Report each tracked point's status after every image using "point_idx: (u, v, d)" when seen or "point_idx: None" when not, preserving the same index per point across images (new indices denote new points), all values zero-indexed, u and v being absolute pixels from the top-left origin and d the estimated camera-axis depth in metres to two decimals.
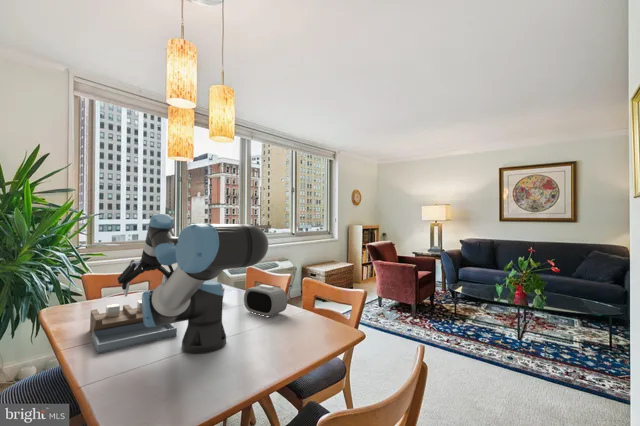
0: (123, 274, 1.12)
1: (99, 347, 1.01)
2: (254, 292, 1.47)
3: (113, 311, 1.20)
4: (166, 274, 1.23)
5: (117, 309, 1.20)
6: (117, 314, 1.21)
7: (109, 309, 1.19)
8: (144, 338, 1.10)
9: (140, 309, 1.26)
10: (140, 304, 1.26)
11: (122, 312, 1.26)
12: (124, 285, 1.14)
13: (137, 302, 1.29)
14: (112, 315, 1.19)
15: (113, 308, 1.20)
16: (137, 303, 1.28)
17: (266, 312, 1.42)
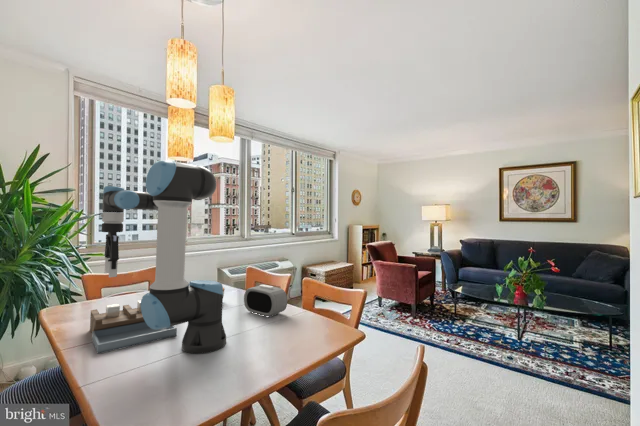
0: (115, 251, 1.22)
1: (99, 347, 1.01)
2: (254, 292, 1.47)
3: (113, 311, 1.20)
4: None
5: (117, 309, 1.20)
6: (117, 314, 1.21)
7: (109, 309, 1.19)
8: (144, 338, 1.10)
9: (140, 309, 1.26)
10: (140, 304, 1.26)
11: (122, 312, 1.26)
12: (115, 263, 1.24)
13: (137, 302, 1.29)
14: (112, 315, 1.19)
15: (113, 308, 1.20)
16: (137, 303, 1.28)
17: (266, 312, 1.42)
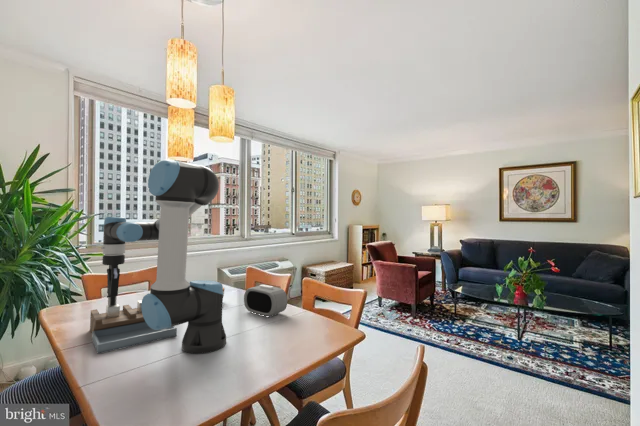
0: (114, 288, 1.20)
1: (99, 347, 1.01)
2: (254, 292, 1.47)
3: (113, 311, 1.19)
4: None
5: (117, 309, 1.20)
6: (117, 314, 1.20)
7: (109, 309, 1.19)
8: (144, 338, 1.10)
9: (140, 309, 1.26)
10: (140, 304, 1.26)
11: (122, 312, 1.26)
12: (114, 299, 1.23)
13: (137, 302, 1.29)
14: (112, 315, 1.19)
15: (113, 308, 1.20)
16: (137, 303, 1.28)
17: (266, 312, 1.42)
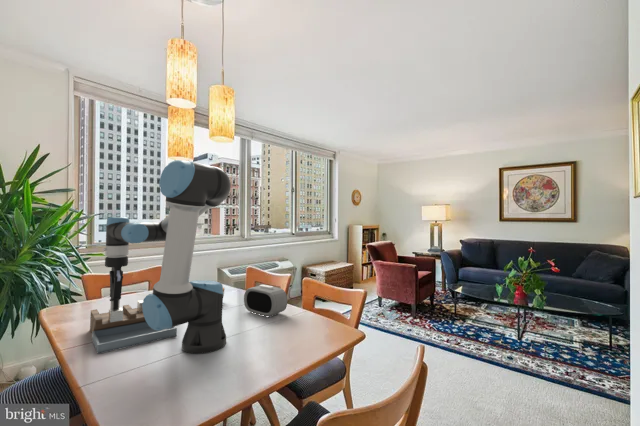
0: (117, 291, 1.15)
1: (99, 347, 1.01)
2: (254, 292, 1.47)
3: (116, 315, 1.15)
4: None
5: (120, 313, 1.16)
6: (120, 318, 1.16)
7: (112, 313, 1.14)
8: (144, 338, 1.10)
9: (140, 309, 1.26)
10: (140, 304, 1.26)
11: None
12: (117, 302, 1.18)
13: (137, 302, 1.29)
14: (115, 319, 1.15)
15: (116, 312, 1.15)
16: (137, 303, 1.28)
17: (266, 312, 1.42)
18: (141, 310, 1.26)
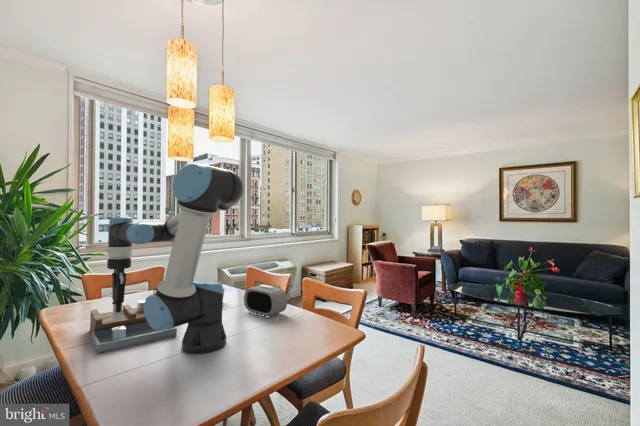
0: (120, 294, 1.11)
1: (99, 347, 1.01)
2: (254, 292, 1.47)
3: None
4: None
5: None
6: None
7: None
8: (144, 338, 1.10)
9: (140, 309, 1.26)
10: (140, 304, 1.26)
11: (122, 312, 1.26)
12: None
13: (137, 302, 1.29)
14: None
15: None
16: (137, 303, 1.28)
17: (266, 312, 1.42)
18: (141, 310, 1.26)
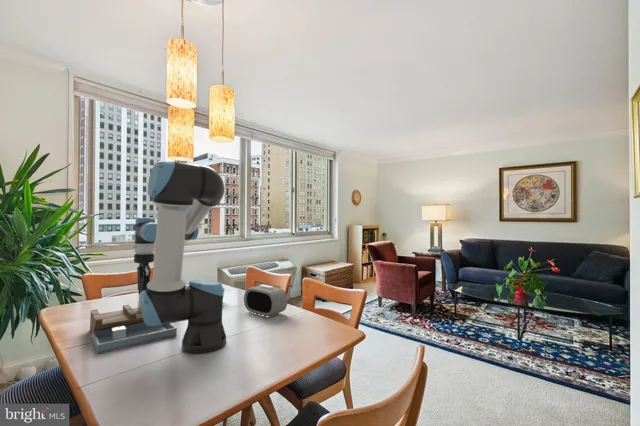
0: (145, 285, 1.27)
1: (99, 347, 1.01)
2: (254, 292, 1.47)
3: None
4: None
5: None
6: None
7: None
8: (144, 338, 1.10)
9: (140, 309, 1.26)
10: None
11: (122, 312, 1.26)
12: None
13: (138, 302, 1.28)
14: None
15: None
16: (138, 303, 1.28)
17: (266, 312, 1.42)
18: None
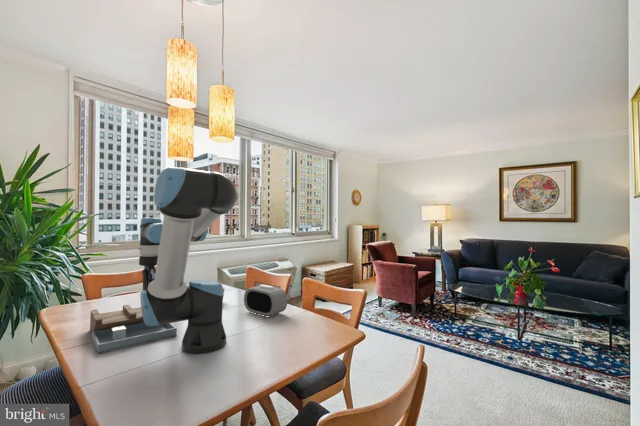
0: None
1: (99, 347, 1.01)
2: (254, 292, 1.47)
3: None
4: None
5: None
6: None
7: None
8: (144, 338, 1.10)
9: None
10: None
11: (122, 312, 1.26)
12: None
13: None
14: None
15: None
16: None
17: (266, 312, 1.42)
18: None
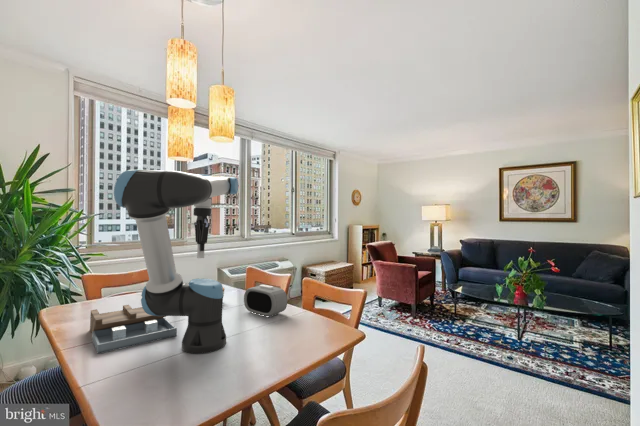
0: (205, 236, 1.38)
1: (99, 347, 1.01)
2: (254, 292, 1.47)
3: None
4: None
5: None
6: None
7: None
8: (144, 338, 1.10)
9: None
10: None
11: (122, 312, 1.26)
12: None
13: (145, 324, 1.17)
14: None
15: None
16: (145, 324, 1.17)
17: (266, 312, 1.42)
18: None
